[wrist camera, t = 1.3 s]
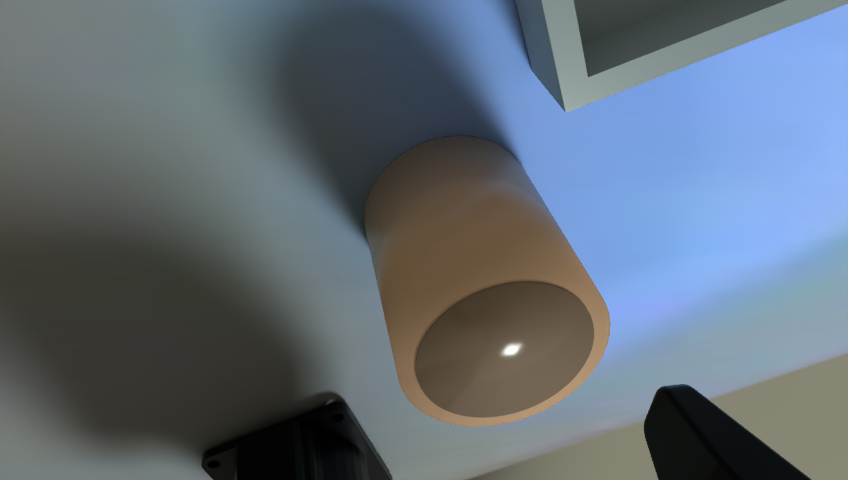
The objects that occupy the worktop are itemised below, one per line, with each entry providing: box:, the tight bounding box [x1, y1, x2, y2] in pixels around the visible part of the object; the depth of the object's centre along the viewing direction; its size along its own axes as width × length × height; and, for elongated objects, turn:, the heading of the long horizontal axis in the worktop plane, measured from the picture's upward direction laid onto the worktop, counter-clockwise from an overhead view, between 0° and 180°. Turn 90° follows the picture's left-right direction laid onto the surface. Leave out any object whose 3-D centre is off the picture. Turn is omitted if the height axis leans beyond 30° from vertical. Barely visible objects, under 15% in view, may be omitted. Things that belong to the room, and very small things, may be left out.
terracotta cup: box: [364, 136, 610, 426], centre depth 22 cm, size 6×6×7 cm
